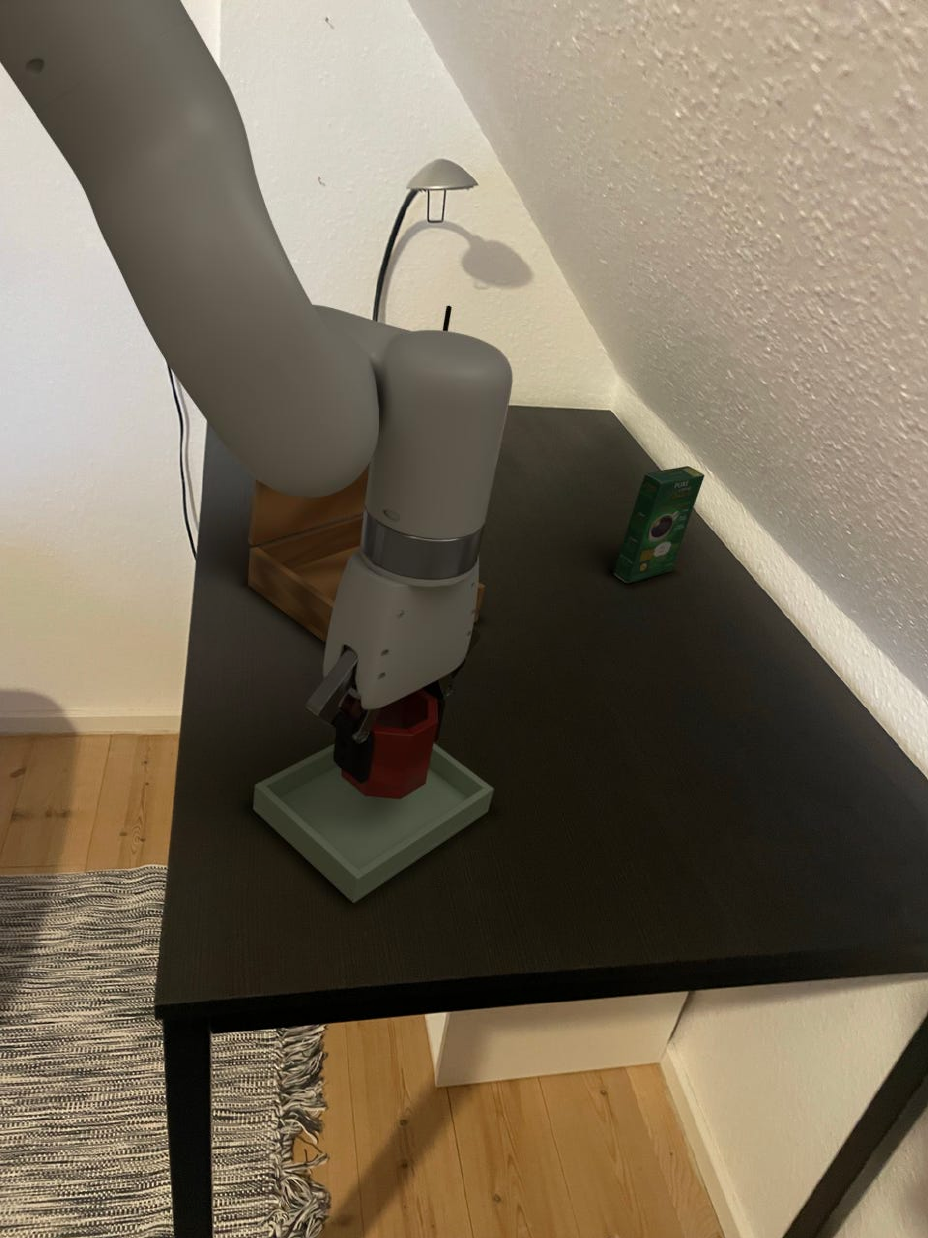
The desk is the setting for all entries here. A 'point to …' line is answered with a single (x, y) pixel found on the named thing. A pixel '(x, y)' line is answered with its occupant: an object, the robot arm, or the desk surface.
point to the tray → (367, 818)
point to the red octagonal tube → (400, 746)
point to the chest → (310, 572)
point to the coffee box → (658, 523)
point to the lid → (301, 510)
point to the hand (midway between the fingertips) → (386, 749)
